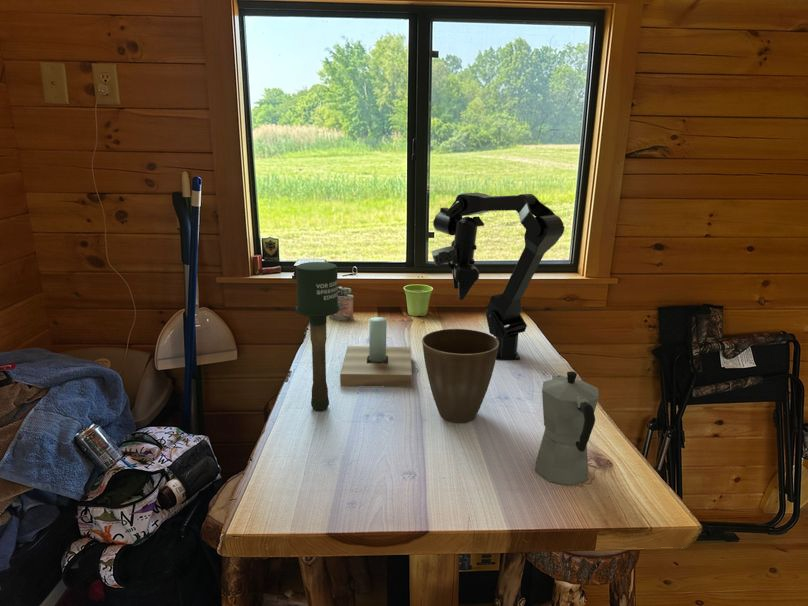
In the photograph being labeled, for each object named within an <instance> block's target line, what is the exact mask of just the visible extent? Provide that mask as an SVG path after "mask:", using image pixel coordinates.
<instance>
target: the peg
mask: <svg viewBox="0 0 808 606" xmlns="http://www.w3.org/2000/svg"><path fill="white" fill-rule="evenodd" d="M368 321H369V325H368V326H369V334H368V335H369V337H368V338H369V342H368V343H369V345H368V346H369V361H370V362H371V363H377V364H384V362H385V361H386V360H387V357H386V347H387V318H385V317H381V316H379V317H378V316H376V317H371V318H369V320H368Z"/></svg>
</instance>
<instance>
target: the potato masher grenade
mask: <svg viewBox="0 0 808 606" xmlns="http://www.w3.org/2000/svg"><path fill="white" fill-rule="evenodd" d="M295 270H296V272H295V273H296V297H297V298H296V301H297V302H296V303H297V306H295V312H296V313H297V314H298V315H301V316H304V317H308V318H309V332H310V334H309V335H310V336H309V337H310V342H311V359H312V361H311V362H312V363H311V365H312V385H311V399H310V406H311V408H312V410H313V411H317V412H323V411H326V410H327V409H328V408H329V405H330V398H329V387H328V385H327V367H326V366H327V365H326V364H327V361H326V360H327V358H326V357H327V356H326V355H327V353H326V352H327V351H326V343H327V320H328V319H327V317H329V315H333V314H336V313H338V312H339V311H340V307H339V305H338V287H339V285H338V283H339V282H338V266H337V265H336V264H334V263H333V262H326V261H307V262H303V263H300V264H298V265H296V267H295Z"/></svg>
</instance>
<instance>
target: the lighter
mask: <svg viewBox="0 0 808 606" xmlns="http://www.w3.org/2000/svg"><path fill="white" fill-rule="evenodd" d="M351 293H352V289H351V287H350V288H349V287H343V286H338V305H339V307H340V311H339V312H338V313H336V314H333V315H329V316H328V319H331V320H338V321H350V322H351V321H353V320H354V318H355V316H354V298H355V297H354V295H353V294H351Z"/></svg>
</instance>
